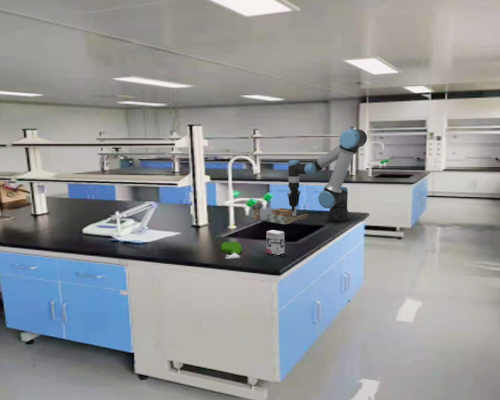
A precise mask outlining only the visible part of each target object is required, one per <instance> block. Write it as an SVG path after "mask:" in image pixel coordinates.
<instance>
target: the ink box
mask: <svg viewBox="0 0 500 400" xmlns="http://www.w3.org/2000/svg"><path fill="white" fill-rule="evenodd" d="M265 235H266V241H265V242H266V251H265V252H266V254H267V253H270V254H269V255H271V254H276V255H280V254H283V253H284V254H285V232H284V231H283V230H275V229H271V230H270V229H269V230H267V231H266V234H265ZM276 255H275V256H276Z"/></svg>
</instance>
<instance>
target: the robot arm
mask: <svg viewBox="0 0 500 400" xmlns="http://www.w3.org/2000/svg"><path fill="white" fill-rule="evenodd" d="M339 142H340V143H339V145H337V146H336V147H334V148H333V149H331V150H330V151H328V152H327V153H325V154H323V155H322V156H320V157H319V158H318V159H316V160H315V161H313V162H306V163H305V162H304V163H303V162H302V163H300V160H298V159H292V160H288V164H287V165H288V166H287V168H288V169H287V170H288V173H287V174H288V175H287V176H288V188H289V192H287V198H288V204H289V206H290V207H291V216H292V217H296V216H297V207H298V205H299V202H300V194H301V191H300V190H299V188H300V175H306V176H308V175H309V176H310V175H314V174H318V173H320V172H322V171H323V169H325V168H326V167H328V166H330V165H331V164H333V163H335V164H334V168H333V170H332V173H331V176H330V178H329V181H328V183H327V184H325V185H324V189H323V191H321V192H320V193H319V195H318V199H317V200H318V203H319V205H320V206H321V207H323V208H324V209H329V211H328V213H327V220H328V221H331V222H347V221H350V219H351V218H350V217H351V216H350V212H349V209H348V199H349V197H348V194H349V192H348V191H349V190H348V187H346V186H343V183H344V181H345V178H346V176H347V173H348V170H349V168H350V165H351V162H352V160H353V157H354V155H356V154H357V153H358V151H359V148H361V147H363V146H365V144H366V143H367V142H368V135H367V133H366V132H365V130H363V129H359V128H357V129H351V128H350V129H346V130H344V131H343V132H342V133H341V134H340V137H339Z"/></svg>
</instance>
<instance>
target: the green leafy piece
mask: <svg viewBox="0 0 500 400" xmlns="http://www.w3.org/2000/svg"><path fill="white" fill-rule="evenodd" d="M242 247H243V246H241V244H240V243H239V242H238V241H227V242H225V241H224V242H223V243H221V246H220V250H221V252H222V253H227V254H225V260H233V259H241V255H240V254H241V253H242V250H243V248H242ZM229 254H230V255H229Z"/></svg>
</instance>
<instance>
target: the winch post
mask: <svg viewBox="0 0 500 400" xmlns="http://www.w3.org/2000/svg"><path fill="white" fill-rule="evenodd" d="M251 208H252V211H253V221H256V222H259V221H260V220H261V218H260V217H261V209H262V203H261V202H256V204H255V205H253V206H252V205H251Z"/></svg>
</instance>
